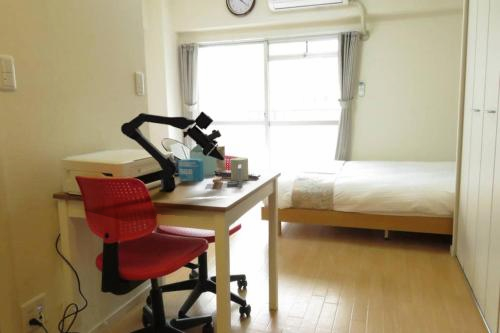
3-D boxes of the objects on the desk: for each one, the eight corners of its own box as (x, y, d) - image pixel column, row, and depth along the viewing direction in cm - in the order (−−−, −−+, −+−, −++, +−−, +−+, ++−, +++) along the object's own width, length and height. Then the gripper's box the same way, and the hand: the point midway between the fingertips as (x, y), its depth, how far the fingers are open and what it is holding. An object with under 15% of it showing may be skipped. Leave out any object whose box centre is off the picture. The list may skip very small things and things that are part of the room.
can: (235, 178, 204) (233, 156, 202) (251, 179, 201) (250, 156, 199) (228, 182, 196) (227, 159, 194) (245, 182, 193) (244, 159, 191)
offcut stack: (212, 188, 178) (212, 180, 178) (214, 183, 188) (214, 176, 187) (221, 187, 178) (221, 180, 178) (223, 183, 188) (222, 176, 187)
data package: (179, 182, 200) (177, 160, 198) (183, 181, 204) (181, 158, 202) (201, 183, 197) (199, 160, 195) (204, 181, 201) (202, 158, 199)
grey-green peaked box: (186, 177, 215) (184, 142, 212) (191, 174, 223) (188, 140, 220) (214, 177, 212) (212, 141, 209) (218, 174, 220) (216, 140, 217)
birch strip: (217, 172, 181) (215, 146, 179) (217, 171, 183) (216, 146, 181) (225, 171, 181) (224, 146, 179) (225, 171, 183) (224, 146, 181)
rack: (204, 191, 177) (203, 169, 176) (207, 185, 189) (206, 165, 188) (242, 189, 177) (241, 168, 176) (242, 184, 189) (242, 164, 188)
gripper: (208, 125, 169) (234, 149, 171) (212, 123, 188) (236, 144, 189) (191, 143, 171) (217, 167, 172) (197, 140, 189) (220, 161, 191)
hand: (223, 159), depth 181 cm, fingers closed on birch strip, 2 cm apart
